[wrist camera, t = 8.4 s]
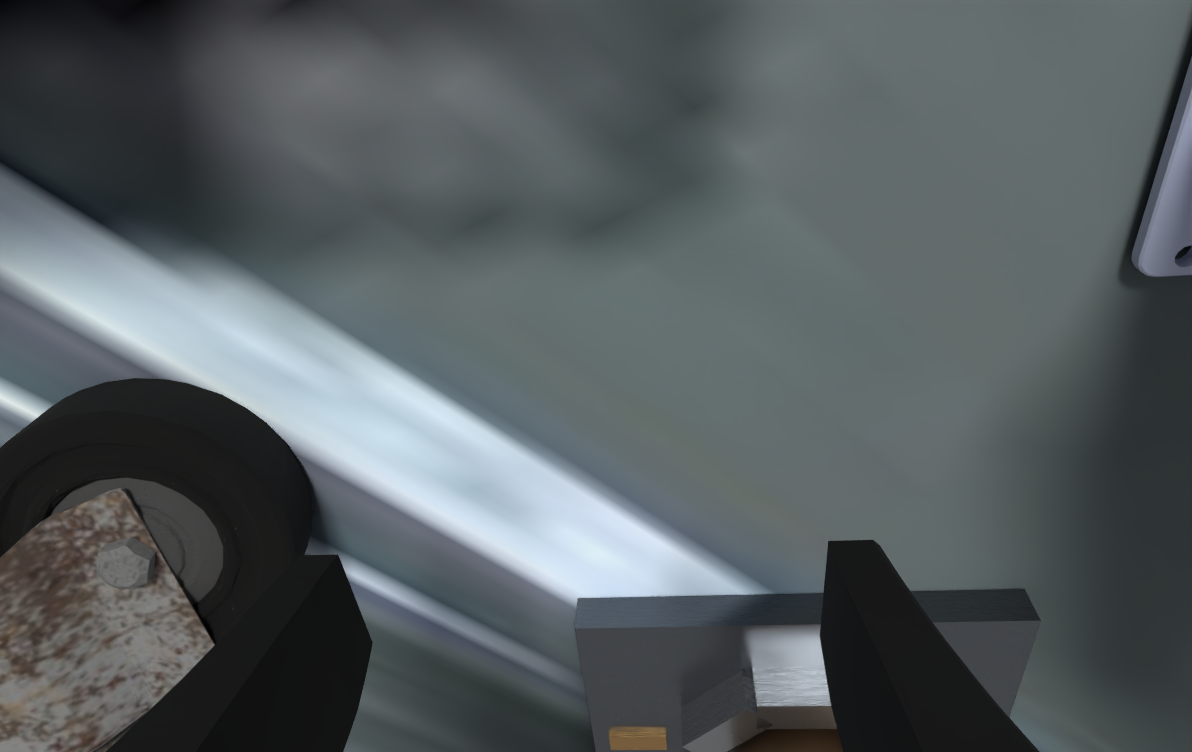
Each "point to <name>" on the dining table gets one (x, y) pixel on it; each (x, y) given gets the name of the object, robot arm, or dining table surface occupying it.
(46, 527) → the caster wheel
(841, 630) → the robot arm
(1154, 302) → the dining table surface
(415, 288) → the dining table surface
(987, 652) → the hub plate
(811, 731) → the knob
